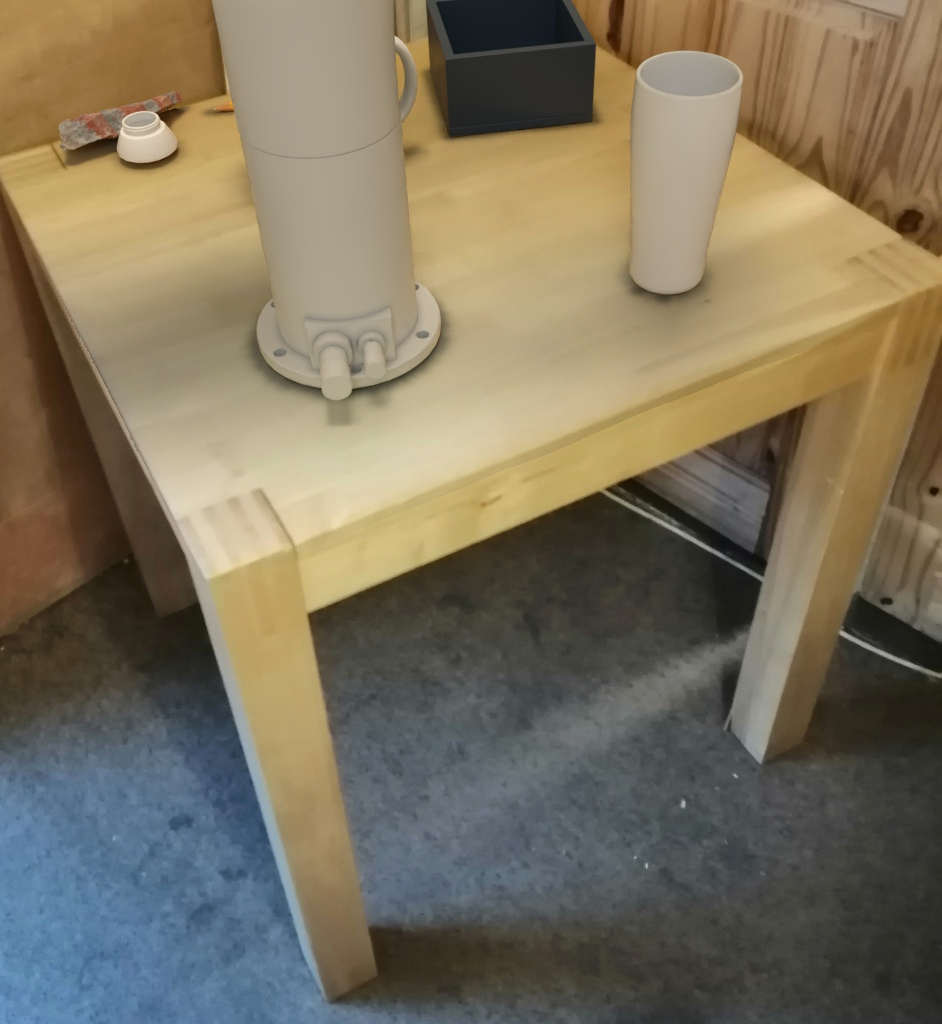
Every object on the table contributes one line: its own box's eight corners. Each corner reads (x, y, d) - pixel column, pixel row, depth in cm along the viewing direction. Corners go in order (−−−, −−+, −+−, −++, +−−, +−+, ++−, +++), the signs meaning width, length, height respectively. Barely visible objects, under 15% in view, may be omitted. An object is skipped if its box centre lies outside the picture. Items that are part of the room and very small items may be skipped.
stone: (165, 89, 98) (189, 84, 95) (174, 117, 99) (199, 113, 96) (39, 125, 92) (60, 121, 88) (50, 155, 93) (72, 152, 89)
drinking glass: (732, 283, 77) (768, 78, 66) (657, 316, 74) (681, 108, 63) (672, 240, 81) (696, 39, 70) (599, 269, 78) (612, 67, 67)
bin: (592, 121, 94) (596, 43, 89) (449, 137, 93) (445, 59, 88) (561, 59, 102) (563, -16, 97) (430, 73, 101) (425, -2, 96)
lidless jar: (185, 158, 91) (170, 132, 94) (176, 125, 89) (162, 100, 92) (126, 172, 90) (114, 146, 93) (117, 139, 88) (104, 113, 91)
